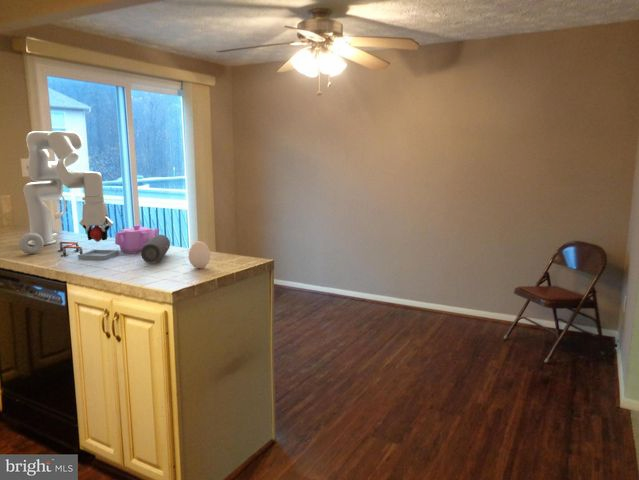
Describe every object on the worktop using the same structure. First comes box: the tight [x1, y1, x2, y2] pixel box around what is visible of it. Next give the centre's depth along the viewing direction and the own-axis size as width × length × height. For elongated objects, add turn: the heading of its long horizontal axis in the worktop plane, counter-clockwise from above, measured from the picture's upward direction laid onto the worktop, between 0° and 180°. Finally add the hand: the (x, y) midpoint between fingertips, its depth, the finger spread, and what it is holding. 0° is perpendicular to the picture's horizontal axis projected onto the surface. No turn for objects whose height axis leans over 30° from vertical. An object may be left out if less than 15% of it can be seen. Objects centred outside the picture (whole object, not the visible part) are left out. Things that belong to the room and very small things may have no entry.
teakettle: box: [114, 224, 160, 254], centre depth 225 cm, size 17×17×12 cm
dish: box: [77, 249, 120, 261], centre depth 211 cm, size 12×12×2 cm
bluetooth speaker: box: [140, 234, 171, 264], centre depth 205 cm, size 23×9×10 cm, turn 8°
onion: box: [90, 226, 103, 243], centre depth 209 cm, size 6×6×8 cm
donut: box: [18, 232, 44, 255], centre depth 214 cm, size 10×4×10 cm, turn 139°
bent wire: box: [57, 241, 84, 258], centre depth 216 cm, size 13×19×4 cm
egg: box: [188, 240, 211, 269], centre depth 190 cm, size 9×9×11 cm
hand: (97, 239), depth 209 cm, fingers closed on onion, 5 cm apart
